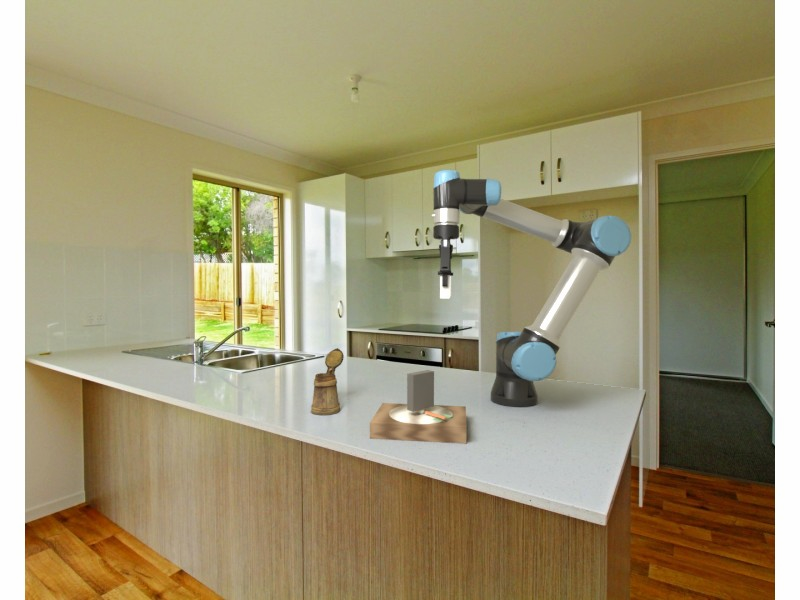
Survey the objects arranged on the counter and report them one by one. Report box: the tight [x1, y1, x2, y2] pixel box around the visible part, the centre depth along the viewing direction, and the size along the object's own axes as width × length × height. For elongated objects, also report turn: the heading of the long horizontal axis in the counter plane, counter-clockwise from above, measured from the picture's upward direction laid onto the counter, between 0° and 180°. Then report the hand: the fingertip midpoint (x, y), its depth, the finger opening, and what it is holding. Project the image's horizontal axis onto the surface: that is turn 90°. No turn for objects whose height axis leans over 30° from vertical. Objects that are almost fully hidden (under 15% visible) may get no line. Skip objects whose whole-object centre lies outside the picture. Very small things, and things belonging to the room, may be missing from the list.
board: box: [369, 402, 467, 444], centre depth 116 cm, size 24×18×4 cm
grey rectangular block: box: [406, 369, 446, 420], centre depth 113 cm, size 8×10×11 cm
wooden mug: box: [310, 348, 345, 416], centre depth 134 cm, size 9×14×18 cm, turn 163°
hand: (445, 297), depth 128 cm, fingers open, 13 cm apart
